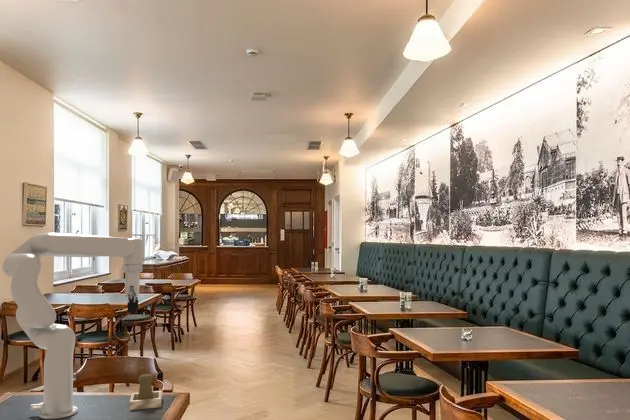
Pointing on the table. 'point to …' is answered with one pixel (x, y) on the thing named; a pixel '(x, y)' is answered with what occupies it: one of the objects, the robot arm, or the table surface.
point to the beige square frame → (146, 401)
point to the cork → (145, 387)
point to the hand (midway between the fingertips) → (133, 310)
